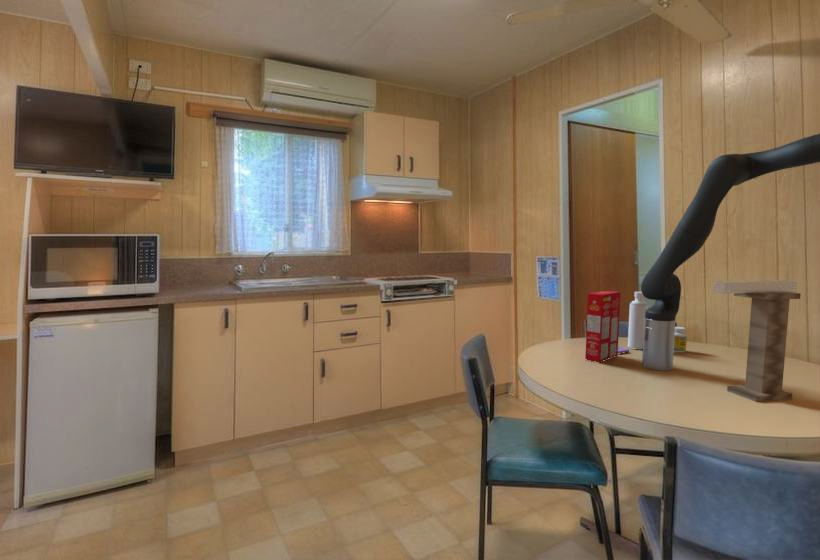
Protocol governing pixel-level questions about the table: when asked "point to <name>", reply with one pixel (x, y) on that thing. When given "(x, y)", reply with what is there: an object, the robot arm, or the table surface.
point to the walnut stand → (766, 347)
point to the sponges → (622, 350)
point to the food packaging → (602, 325)
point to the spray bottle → (637, 321)
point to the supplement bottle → (680, 339)
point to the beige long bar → (754, 286)
